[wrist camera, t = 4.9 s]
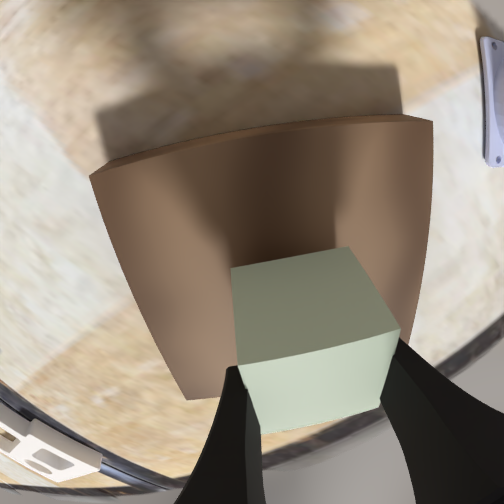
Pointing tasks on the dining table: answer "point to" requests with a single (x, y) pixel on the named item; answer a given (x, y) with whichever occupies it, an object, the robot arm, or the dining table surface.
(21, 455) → the holder
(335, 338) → the sage block
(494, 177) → the dining table surface
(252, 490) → the robot arm
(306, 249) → the walnut base
